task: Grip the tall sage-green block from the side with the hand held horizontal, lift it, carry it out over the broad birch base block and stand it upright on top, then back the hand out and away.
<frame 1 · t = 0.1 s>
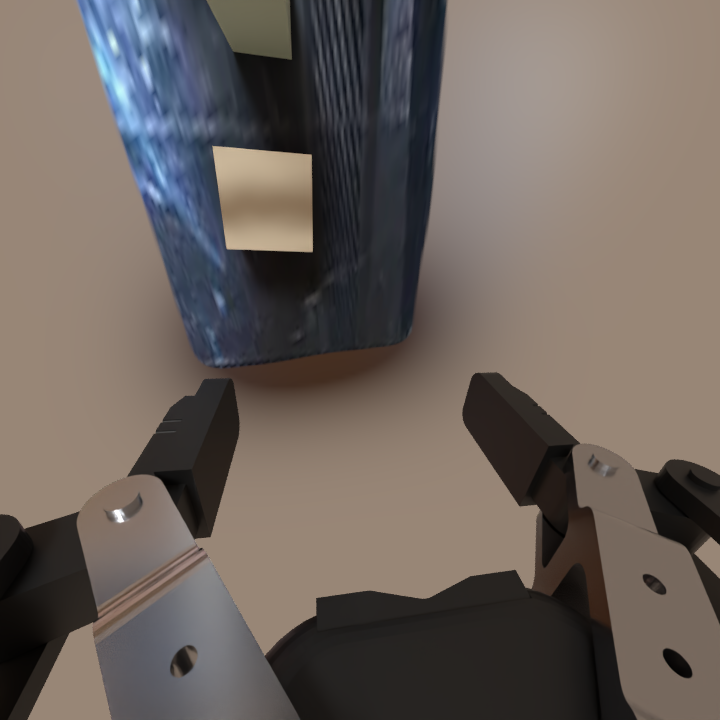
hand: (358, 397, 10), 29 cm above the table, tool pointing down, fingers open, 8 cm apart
birch base block: (273, 202, 33), on the table
sage block: (260, 15, 26), on the table
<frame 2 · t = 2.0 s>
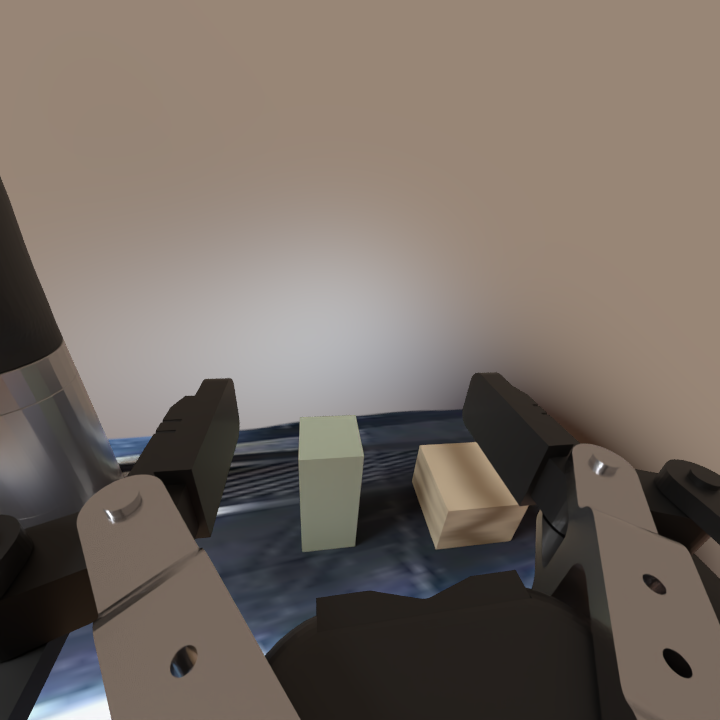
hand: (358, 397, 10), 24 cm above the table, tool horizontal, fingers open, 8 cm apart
birch base block: (456, 509, 34), on the table
sage block: (327, 524, 31), on the table
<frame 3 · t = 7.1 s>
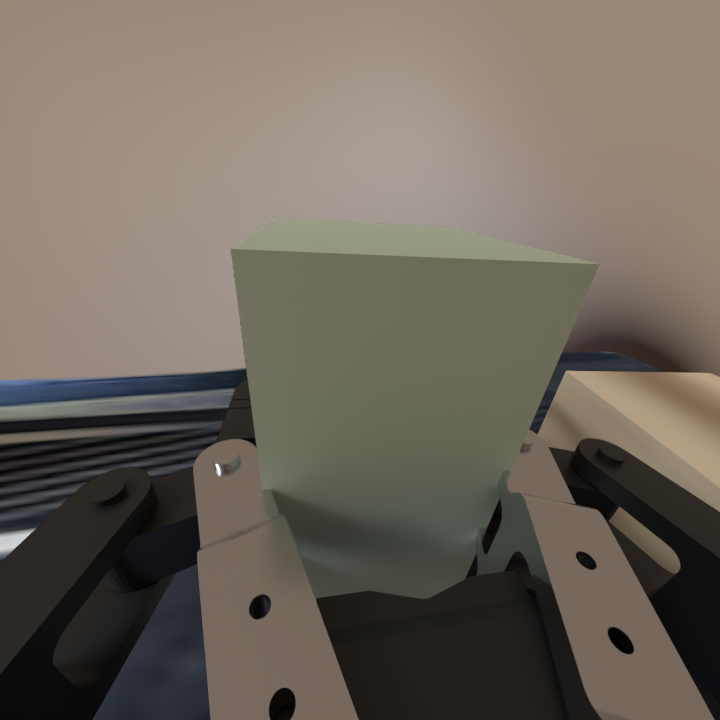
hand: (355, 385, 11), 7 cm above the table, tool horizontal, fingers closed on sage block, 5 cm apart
birch base block: (651, 523, 15), on the table
sage block: (355, 566, 12), on the table, touching gripper
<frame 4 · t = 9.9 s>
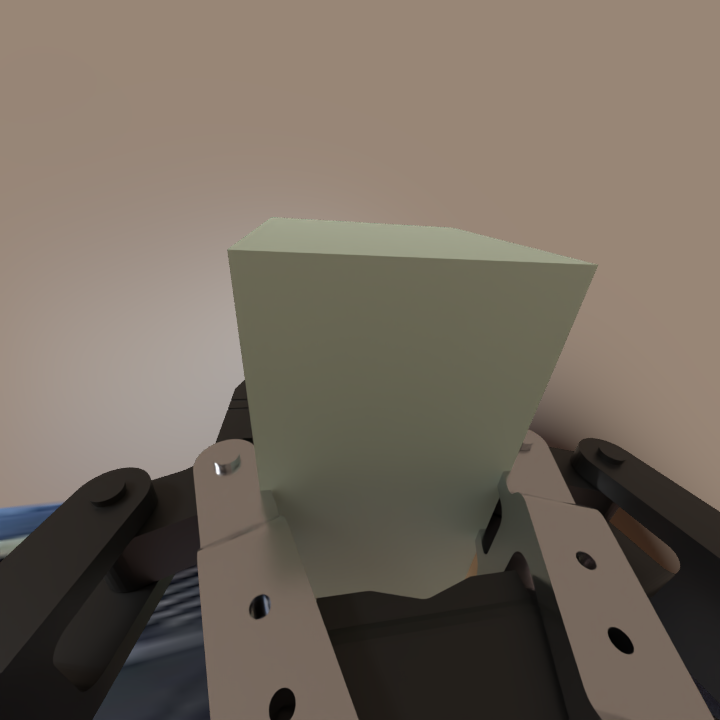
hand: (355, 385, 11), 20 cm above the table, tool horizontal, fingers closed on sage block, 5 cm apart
sage block: (354, 566, 12), point 13 cm above the table, touching gripper
when the fingers open (14 cm above the table, at t = 12.8 s): sage block drops 1 cm, point 6 cm above the table.
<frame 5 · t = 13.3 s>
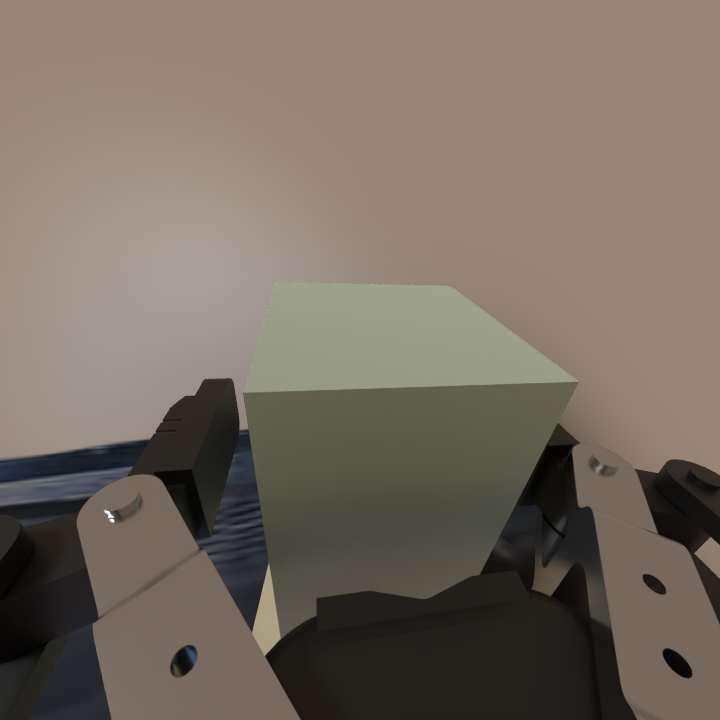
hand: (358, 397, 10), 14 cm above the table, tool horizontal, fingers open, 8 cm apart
birch base block: (352, 641, 16), on the table
sage block: (354, 591, 12), point 6 cm above the table
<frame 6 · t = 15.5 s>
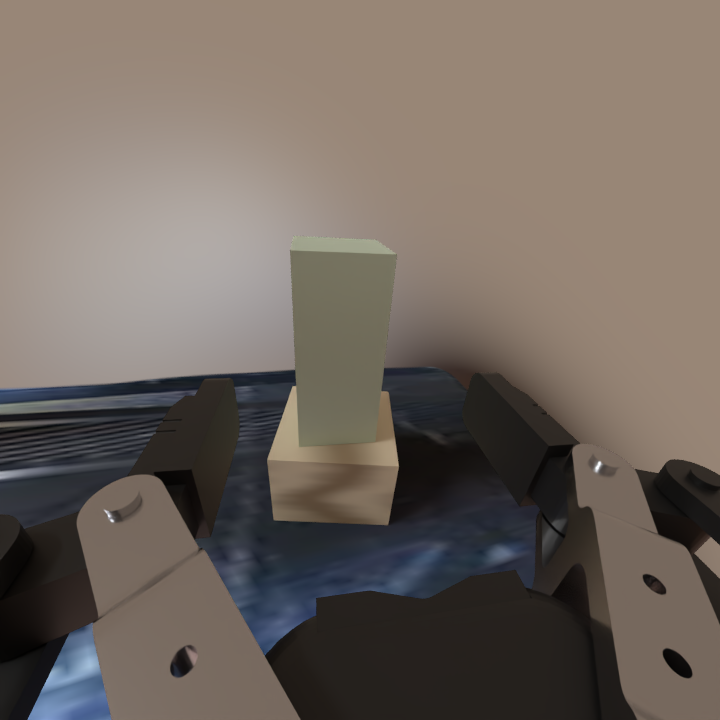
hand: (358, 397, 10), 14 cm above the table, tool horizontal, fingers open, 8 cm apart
birch base block: (335, 477, 25), on the table, touching sage block
sage block: (334, 419, 22), point 6 cm above the table, touching birch base block
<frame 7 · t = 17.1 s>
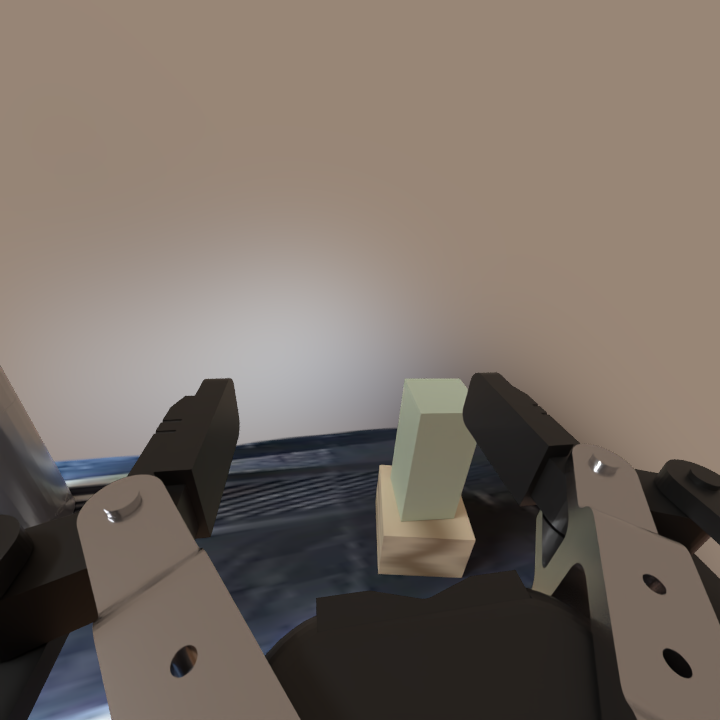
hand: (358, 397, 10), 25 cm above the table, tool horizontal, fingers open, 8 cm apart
birch base block: (413, 536, 33), on the table
sage block: (420, 496, 30), point 6 cm above the table
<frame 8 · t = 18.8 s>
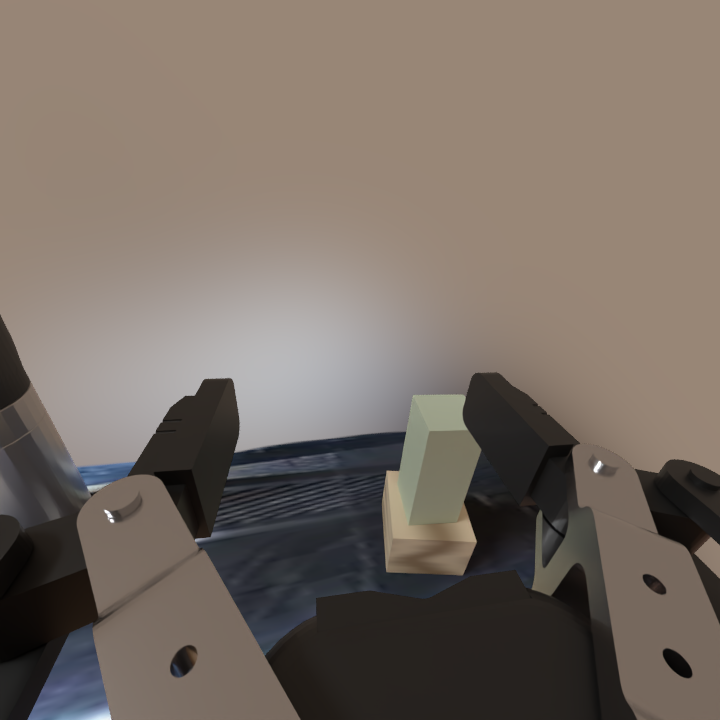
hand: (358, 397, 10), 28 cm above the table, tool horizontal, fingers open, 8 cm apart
birch base block: (418, 536, 35), on the table, touching sage block
sage block: (425, 501, 32), point 6 cm above the table, touching birch base block
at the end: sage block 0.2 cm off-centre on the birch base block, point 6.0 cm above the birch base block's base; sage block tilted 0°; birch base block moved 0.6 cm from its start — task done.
